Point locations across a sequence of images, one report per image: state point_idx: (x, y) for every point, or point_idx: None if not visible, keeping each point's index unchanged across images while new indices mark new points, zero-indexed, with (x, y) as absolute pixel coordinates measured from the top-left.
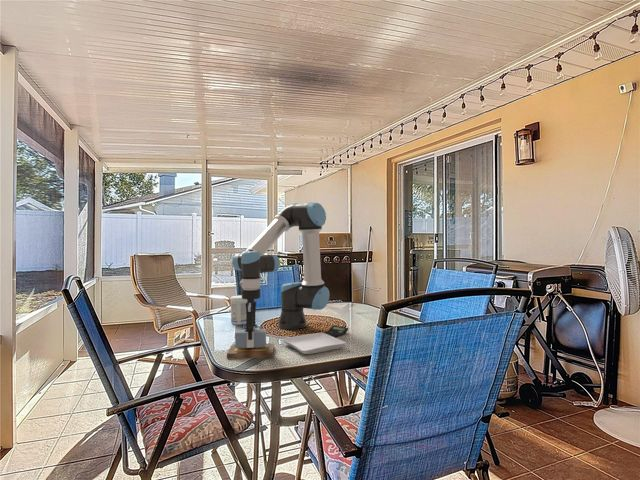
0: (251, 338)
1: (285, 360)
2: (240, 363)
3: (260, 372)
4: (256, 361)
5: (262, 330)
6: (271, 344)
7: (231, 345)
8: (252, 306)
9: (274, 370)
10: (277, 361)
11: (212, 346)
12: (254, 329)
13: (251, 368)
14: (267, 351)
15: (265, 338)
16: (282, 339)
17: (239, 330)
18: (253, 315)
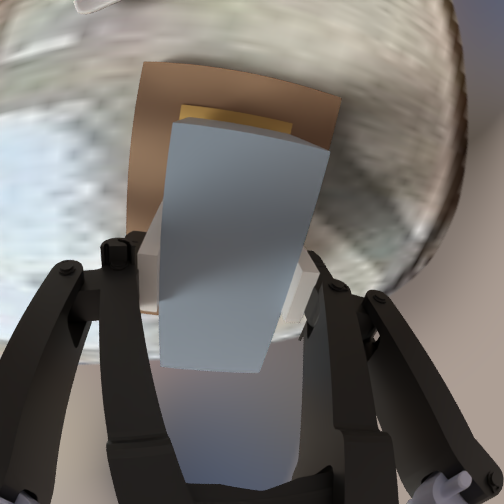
0: (319, 259)
1: (390, 58)
2: (352, 257)
3: (456, 194)
4: (358, 189)
5: (233, 169)
6: (161, 79)
7: (143, 312)
8: (498, 493)
9: (462, 145)
10: (392, 96)
11: (96, 353)
12: (165, 251)
13: (417, 219)
14: (315, 124)
15: (276, 134)
16: (91, 12)
17: (185, 356)
18: (342, 416)
